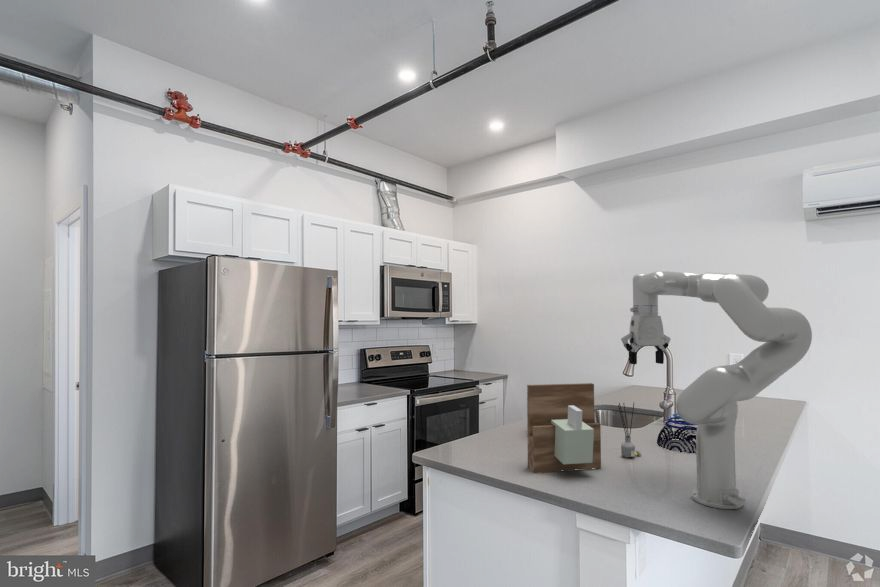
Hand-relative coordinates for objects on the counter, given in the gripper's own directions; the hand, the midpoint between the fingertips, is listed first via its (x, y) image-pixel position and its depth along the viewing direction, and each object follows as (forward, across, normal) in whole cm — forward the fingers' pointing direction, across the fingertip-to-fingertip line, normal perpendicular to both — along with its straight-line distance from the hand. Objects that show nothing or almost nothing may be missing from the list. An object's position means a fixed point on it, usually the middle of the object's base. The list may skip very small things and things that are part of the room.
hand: (646, 363), depth 155 cm
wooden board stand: (+36, -23, +13) cm, 45 cm away
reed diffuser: (+36, +6, +21) cm, 43 cm away
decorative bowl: (+37, +37, +29) cm, 59 cm away
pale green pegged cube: (+31, -23, +8) cm, 40 cm away
